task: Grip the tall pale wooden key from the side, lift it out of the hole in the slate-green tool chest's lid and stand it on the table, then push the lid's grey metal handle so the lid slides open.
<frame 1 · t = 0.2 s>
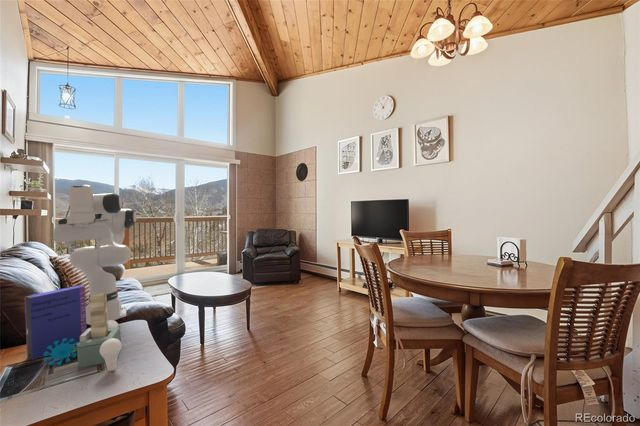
hand: (84, 250, 125), 39 cm above the table, tool pointing down, fingers open, 8 cm apart
lightbulb: (111, 371, 96), on the table
wooden key: (99, 325, 107), in the tool chest
lid: (99, 333, 107), point 9 cm above the table, slide at 0.0 cm
gear: (64, 361, 105), on the table
tool chest: (100, 356, 107), on the table
cereal box: (58, 349, 115), on the table
penguin figurine: (112, 343, 119), on the table
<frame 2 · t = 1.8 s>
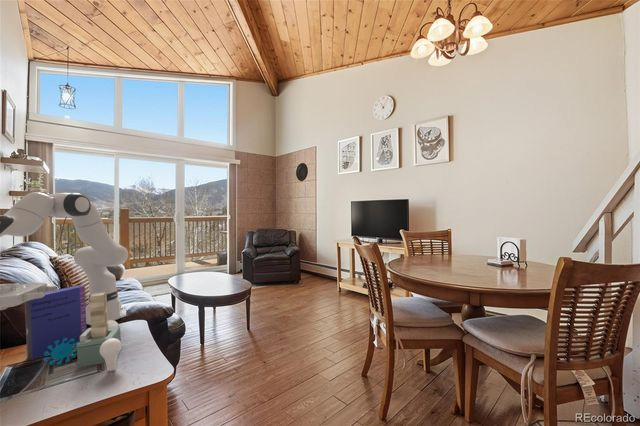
hand: (50, 291, 101), 27 cm above the table, tool horizontal, fingers open, 8 cm apart
nothing on the table moved.
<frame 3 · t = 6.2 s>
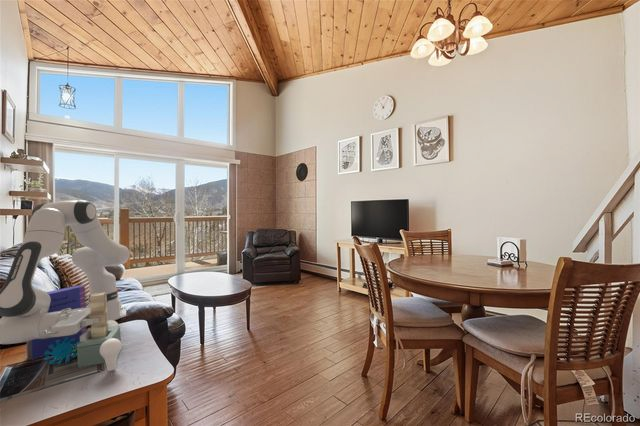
hand: (102, 317, 107), 15 cm above the table, tool horizontal, fingers closed on wooden key, 4 cm apart
wooden key: (99, 325, 107), in the tool chest, touching gripper
when the fingers open (16 cm above the table, at t = 12.3 s): wooden key stays where it is, on the table.
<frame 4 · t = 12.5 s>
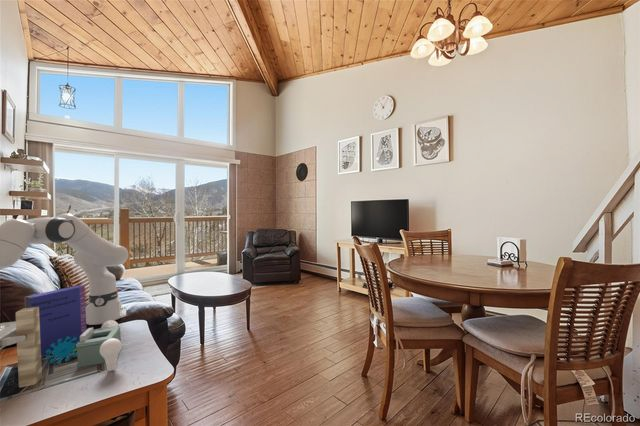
hand: (32, 333, 92), 16 cm above the table, tool horizontal, fingers open, 5 cm apart
wooden key: (29, 346, 91), on the table
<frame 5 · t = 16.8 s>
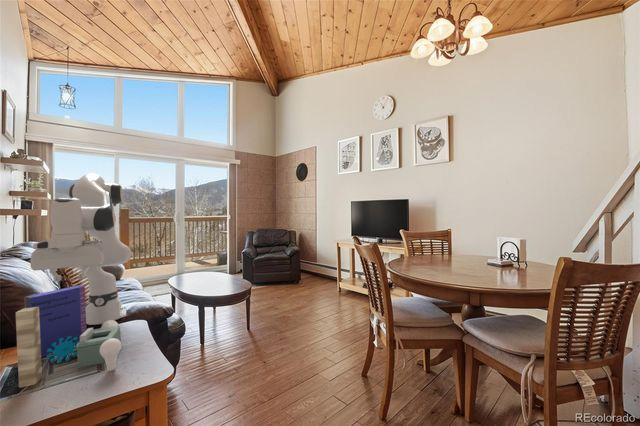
hand: (70, 279, 102), 31 cm above the table, tool pointing down, fingers open, 5 cm apart
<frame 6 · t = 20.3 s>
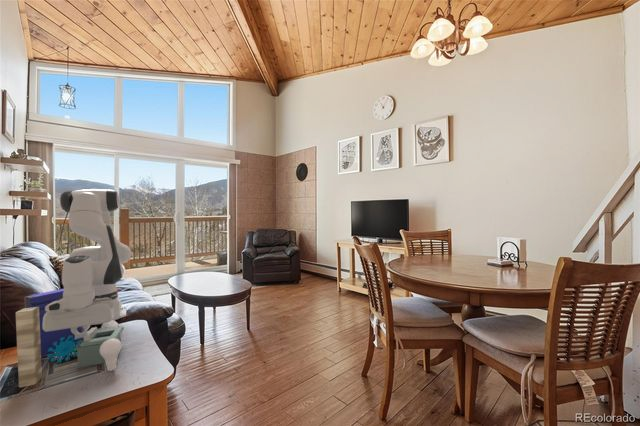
hand: (80, 338, 103), 9 cm above the table, tool pointing down, fingers closed
lid: (103, 333, 107), point 9 cm above the table, slide at 1.1 cm, touching gripper
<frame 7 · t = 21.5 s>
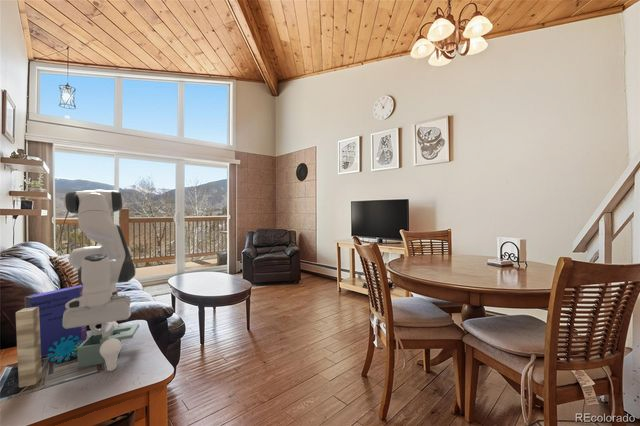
hand: (99, 334, 105), 9 cm above the table, tool pointing down, fingers closed
lid: (120, 330, 109), point 9 cm above the table, slide at 6.7 cm, touching gripper
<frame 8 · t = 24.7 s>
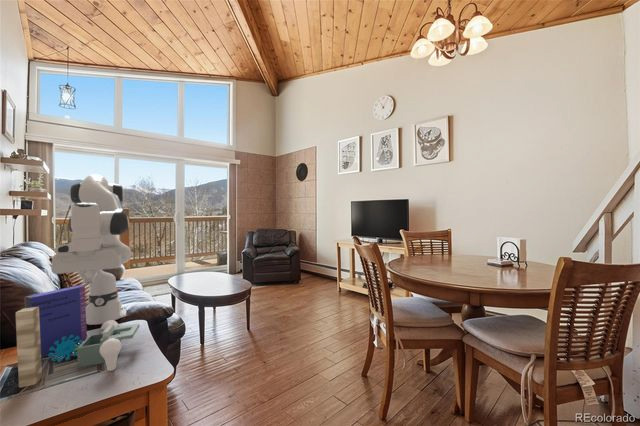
hand: (89, 282, 104), 29 cm above the table, tool pointing down, fingers closed
lid: (121, 330, 109), point 9 cm above the table, slide at 6.7 cm
at the end: lid slide at 6.7 cm; wooden key inside the target area (0.0 cm from its centre), on the table; wooden key tilted 0° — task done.
